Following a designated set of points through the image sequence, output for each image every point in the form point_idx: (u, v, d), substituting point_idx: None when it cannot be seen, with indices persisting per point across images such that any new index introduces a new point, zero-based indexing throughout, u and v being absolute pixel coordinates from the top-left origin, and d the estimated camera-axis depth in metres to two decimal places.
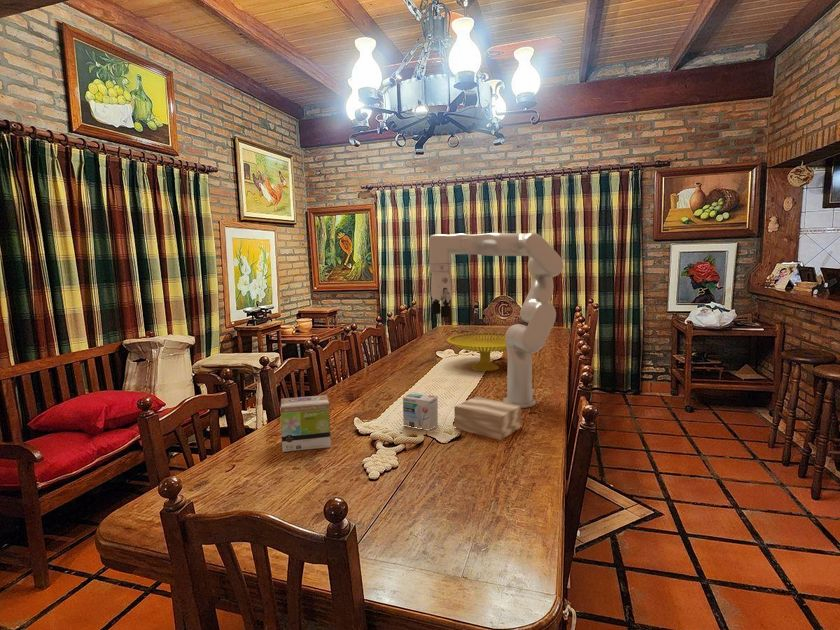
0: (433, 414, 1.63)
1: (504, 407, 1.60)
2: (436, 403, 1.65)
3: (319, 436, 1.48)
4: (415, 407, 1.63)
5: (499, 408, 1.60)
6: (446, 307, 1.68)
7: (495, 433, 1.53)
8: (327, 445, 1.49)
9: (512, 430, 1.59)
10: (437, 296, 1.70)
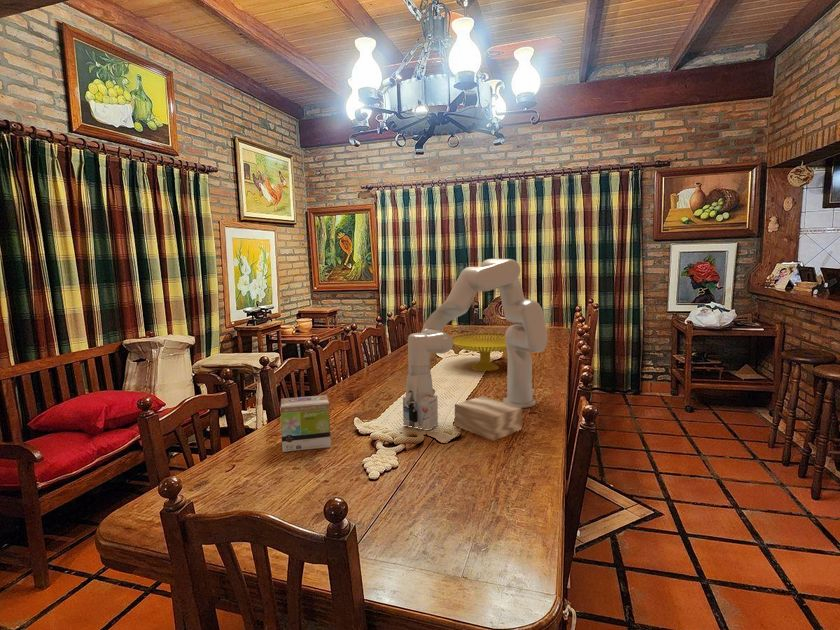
0: (433, 414, 1.63)
1: (503, 408, 1.59)
2: (436, 403, 1.65)
3: (319, 436, 1.48)
4: None
5: (497, 408, 1.59)
6: None
7: (489, 433, 1.53)
8: (327, 445, 1.49)
9: (509, 432, 1.57)
10: None
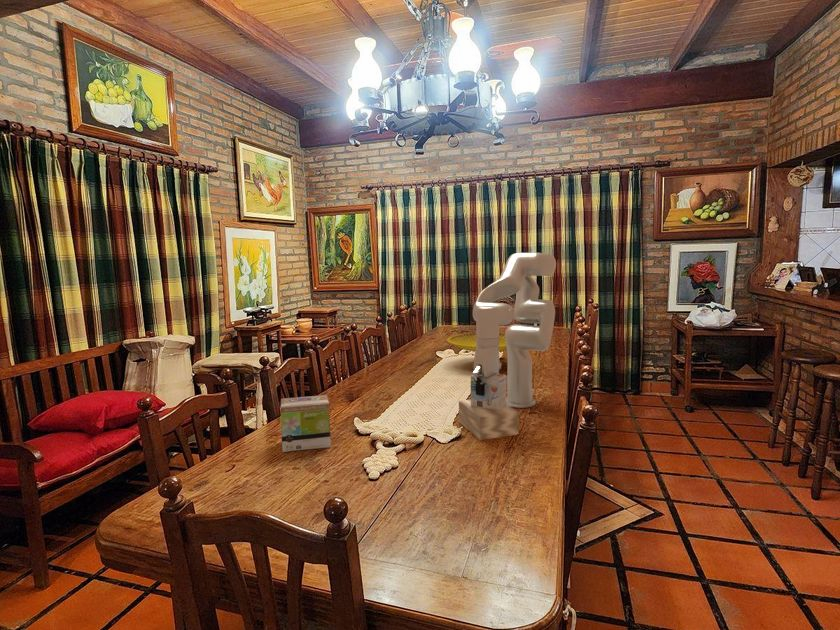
0: (502, 394, 1.59)
1: (499, 410, 1.58)
2: (505, 382, 1.61)
3: (319, 436, 1.48)
4: None
5: (493, 410, 1.58)
6: None
7: (477, 433, 1.54)
8: (327, 445, 1.49)
9: (502, 434, 1.55)
10: (496, 369, 1.62)
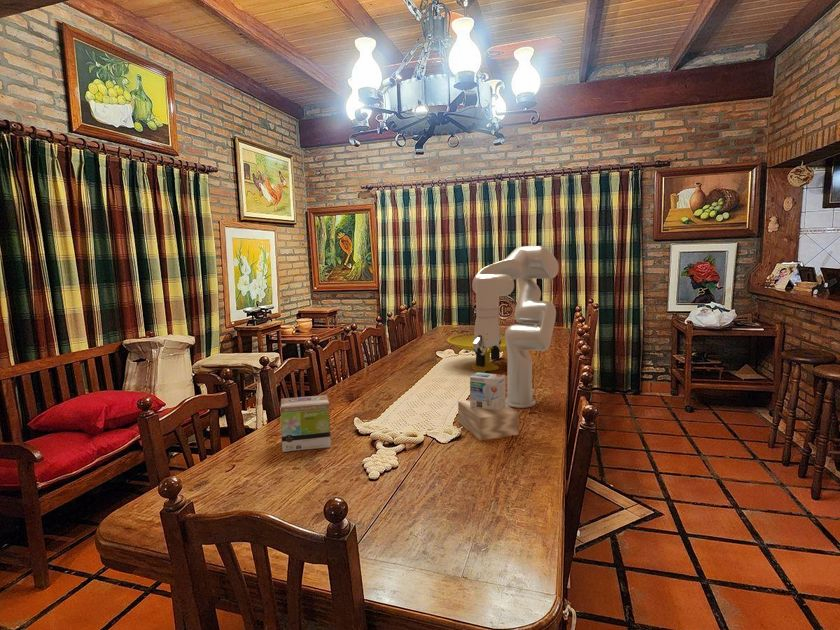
0: (501, 394, 1.59)
1: (499, 411, 1.57)
2: (504, 383, 1.61)
3: (319, 436, 1.48)
4: (483, 386, 1.59)
5: (493, 410, 1.58)
6: None
7: (477, 433, 1.54)
8: (327, 445, 1.49)
9: (501, 435, 1.55)
10: (497, 340, 1.60)
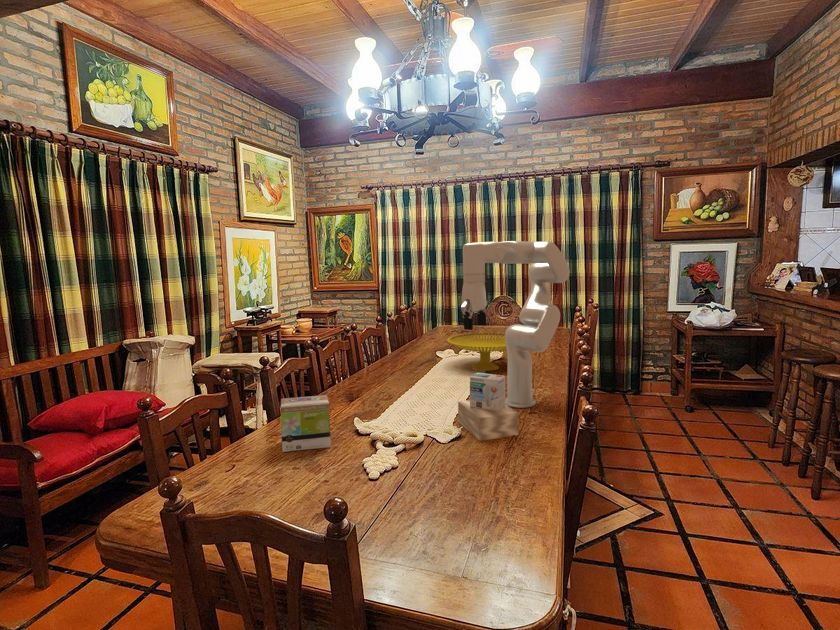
0: (501, 394, 1.59)
1: (499, 411, 1.57)
2: (504, 383, 1.60)
3: (319, 436, 1.48)
4: (483, 387, 1.59)
5: None
6: None
7: (477, 433, 1.54)
8: (327, 445, 1.49)
9: (501, 435, 1.55)
10: (483, 305, 1.67)
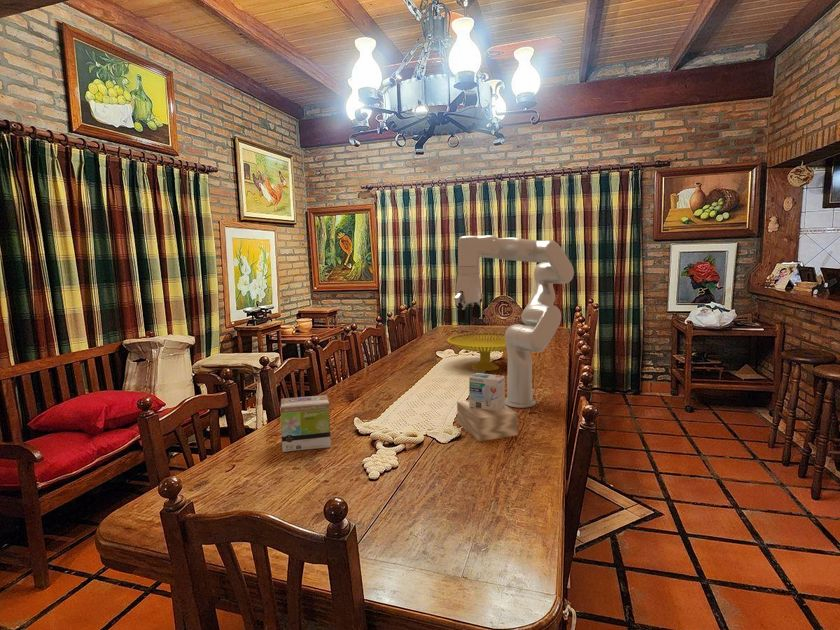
0: (501, 395, 1.58)
1: (498, 411, 1.57)
2: (503, 383, 1.60)
3: (319, 436, 1.48)
4: (482, 387, 1.58)
5: (492, 411, 1.58)
6: None
7: (476, 434, 1.53)
8: (327, 445, 1.49)
9: (501, 435, 1.54)
10: (478, 297, 1.70)
